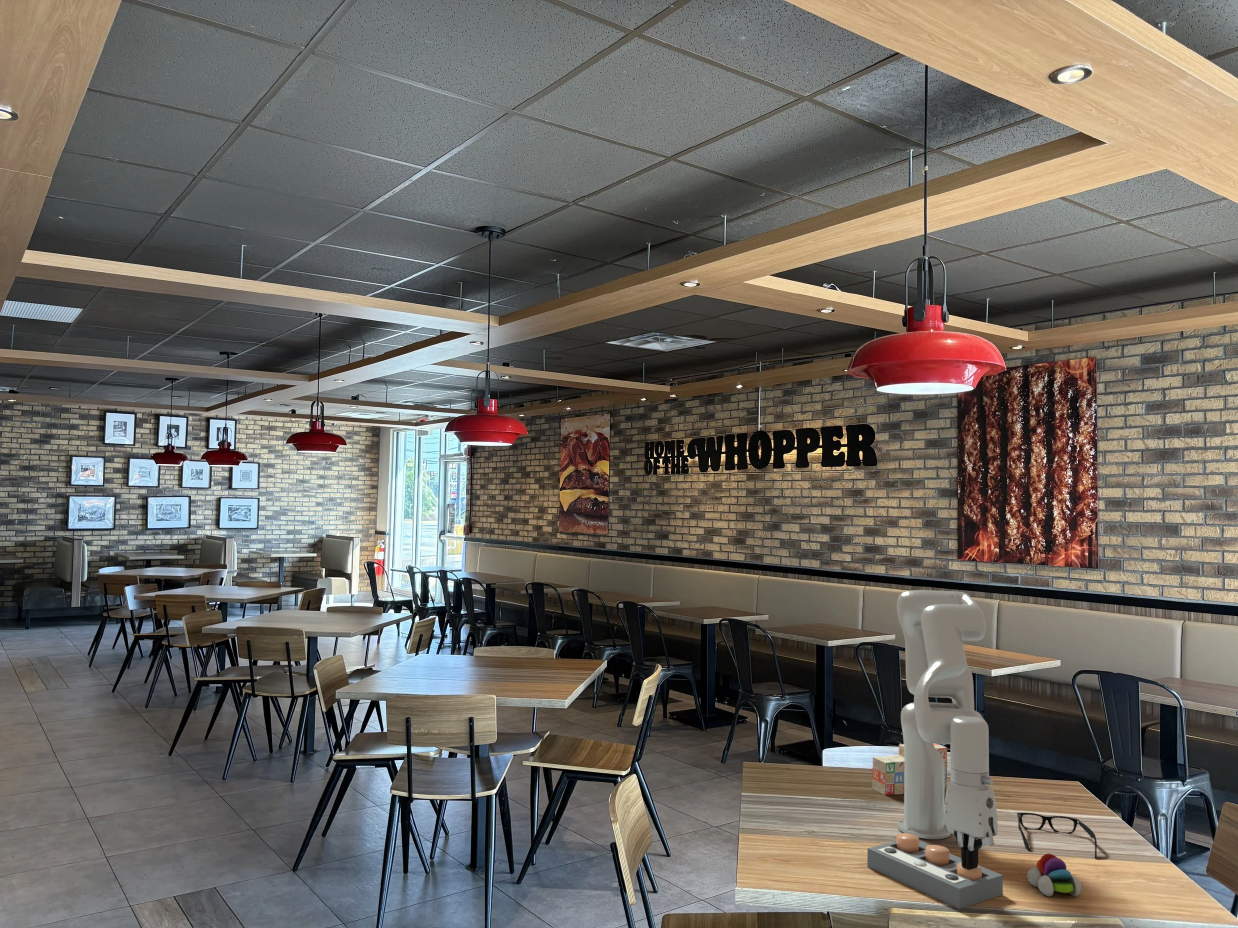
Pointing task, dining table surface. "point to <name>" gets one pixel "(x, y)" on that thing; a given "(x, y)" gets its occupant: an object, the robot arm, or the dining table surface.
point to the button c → (969, 872)
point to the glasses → (1044, 818)
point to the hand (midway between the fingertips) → (969, 866)
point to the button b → (937, 855)
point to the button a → (908, 843)
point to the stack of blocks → (896, 771)
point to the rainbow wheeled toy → (1053, 877)
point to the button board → (934, 875)
